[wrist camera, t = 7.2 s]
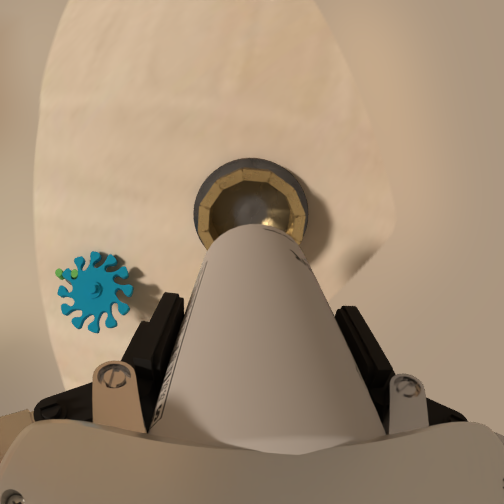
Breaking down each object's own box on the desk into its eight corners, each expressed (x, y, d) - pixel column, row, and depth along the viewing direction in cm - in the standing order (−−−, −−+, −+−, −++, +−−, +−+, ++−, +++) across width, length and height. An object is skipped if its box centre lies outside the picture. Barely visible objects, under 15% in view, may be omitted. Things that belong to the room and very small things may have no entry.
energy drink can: (303, 307, 18) (371, 543, 4) (211, 313, 18) (173, 556, 4) (303, 215, 16) (470, 472, 2) (197, 223, 16) (63, 497, 2)
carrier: (199, 153, 29) (191, 154, 25) (312, 164, 29) (322, 167, 25) (193, 259, 33) (186, 276, 29) (296, 268, 34) (303, 285, 29)
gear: (146, 272, 32) (106, 348, 27) (151, 286, 37) (118, 351, 32) (77, 232, 31) (37, 299, 27) (89, 251, 37) (55, 310, 32)
